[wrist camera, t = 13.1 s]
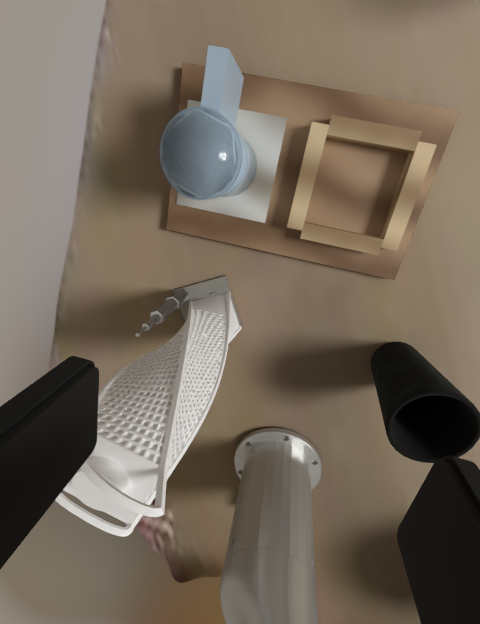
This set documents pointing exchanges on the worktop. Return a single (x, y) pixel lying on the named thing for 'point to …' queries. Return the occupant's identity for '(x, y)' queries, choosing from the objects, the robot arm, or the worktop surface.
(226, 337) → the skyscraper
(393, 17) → the worktop surface
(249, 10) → the worktop surface
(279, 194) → the board
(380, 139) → the cradle
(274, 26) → the worktop surface
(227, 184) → the blue cylinder with tab
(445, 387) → the cup
